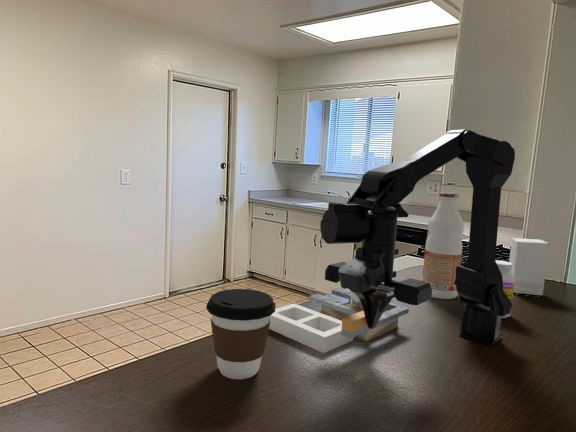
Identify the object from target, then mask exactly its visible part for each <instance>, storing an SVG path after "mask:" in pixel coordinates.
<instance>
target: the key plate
mask: <svg viewBox="0 0 576 432" xmlns="http://www.w3.org/2000/svg"><path fill="white" fill-rule="evenodd" d="M331 295H334V296H337V297H340V298H343V299H346V300H348V301H349V300H351V291H350V289H347V288H346V289H344V288H342V287H337V288H333V289H331ZM308 301H309V302H312V303H315V304H318V305H323V306H326V307H329V308H331V309H334V310H337V311H340V312H343V313H346V314H349V315H350V316H348V317H345V318H342V330H341V335H343V336H346V337H348V338H352V337H353V338H356V337H355V336H357V335H359V334H362V333H364V332H366V331H368V330H371V329H370V328H368V325H367V322H366V318H365V315H364V311H359V310H356V309H353V308H350V307H347V306H344V305H342V304H340V300H338V299H335V298H332V297H330V296H326V295H324V294H320V293H314V294H312V295H309V296H308ZM386 308H387V309H391V310H388V311H386V312H383V314H382V316H381V317H380V319H379V321H378V323H377V325H376V326H375V327H378V326H380V325H382V324H384V323H387V322H389V321H391V320H393V319H396V318H398V317H399V318H400V317H403V316H405V315H407V314H409V312H410V311H409V310H410V308H409V307H405V306H403V305H399V304H396V303H392V302H390V303H389V304H388V305H387V307H386ZM399 318H398V319H399Z"/></svg>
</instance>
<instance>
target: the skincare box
mask: <svg viewBox="0 0 576 432" xmlns="http://www.w3.org/2000/svg"><path fill="white" fill-rule="evenodd" d="M549 246H550V243H549V242H547V241H545V240H543V239H536V238H520V237H519V238H518V237H511V243H510V253H509V261H508V262H510V263H512V269H511V272H510V273H511V274H512V275H514V277H515V285H514V292H515V293H525V294H533V295H543V296H544V288H545V280H546V272H547V271H546V270H547V263H548V262H547V261H548V254H549V253H548V252H549Z"/></svg>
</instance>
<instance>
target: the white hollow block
mask: <svg viewBox="0 0 576 432" xmlns="http://www.w3.org/2000/svg"><path fill="white" fill-rule="evenodd" d="M319 312H320V311H319ZM319 312H318V311H316V310H313V309H310V308H308V307H305V306H302V305H299V304H297V303H291V304H287V305H284V306H281V307H277V308H275V312H274V313H273V314H272V315H271V316H270V326H269V330H270V331H273V332H276V333H278V334H280V335H282V336H284V337H287V338H289V339H291V340H292V341H293V340H294V341H295V342H298V343H300V344H302V345H305V346H306V347H308V348H310V349H313V350H315V351H318V352H320V353H322V354H325V353H328V352H330V351H332V350H334V349H337V348H339V347H341V346H344V345H346V344H349V343H350V342H352V341H354V337H352V338H348V337H346V336H343V335H341V330H342V321H341V320H338V319H335V318H333V317H330V316H327V315H324V314H322V313H319Z"/></svg>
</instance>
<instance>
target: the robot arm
mask: <svg viewBox="0 0 576 432" xmlns="http://www.w3.org/2000/svg"><path fill="white" fill-rule="evenodd" d="M454 159H458V160H460V161H462V162H464V163H465V172H466V176H467V177H468V179H469V182H470V183H471V185H472V199H471V211H470V212H471V214H470V225H469V239H468V252H467V258H466V259H465V261H464V262H463V263H462V265H461V266H457V267H456V278H455V282H454V285H456V290H457V292H458V293H457V295H458V298H459V299H458V300H459V303H461V304H464V305H465V307H464V309H465V310H463V311H462V314H461V321H460V322H461V323H460V332H459V336H460V337H464V338H467V339H469V340H473V341H475V342H479V343H483V344H485V345H489V346H493V345H495V344H496V343H497V342H498V341H500V340H501V339H502V338H503V335H502V334H501V324H502V318H501V317H502V316H505V315H506V314H509V313H510V310H511V311H512V307H513V301H512V302H511V301H510V299H509V298H508V296H507V295H506V293H505V292H504V290H503V277H502V274H501V272H500V270H499V267H498V265H497V263H496V261H495V260H496V255H497V242H498V241H497V240H498V231H499V229H498V228H499V220H500V219H499V218H500V206H501V195H502V189H503V187H504V185H505V184H506V182H507V181H508V180H509V178H510V177H511V175H512V172H513V169H514V163H515V159H516V152H515V147H512V145H511V143H510V142H508V141H506V140H499V139H495V138H492V137H489V136H485V135H481V134H479V133H477V132H476V131H473V130H470V129H467V128H466V129H465V128H464V129H451V130H449V131H447V132H446V133H444V135H442V136H441V137H439V138H438V139H435V140H434V141H432V142H431V143H428V144H427V145H426V146H424V147H422V148H420V149H418V150H417V151H416V152H414V153H413V154H410V155H409V156H407V157H406V158H404V159H403V160H400V161H397V162H393V163H389V164H386V165H381V166H378V167H376V168H372V169H370V170H368V171H366V172H365V173H364V174H363V175H362V177H361V181H360V183H359V186H358V187H357V188H356V190H355V191H354V193H353V194H352V196H351V197H350V198H349V200H348V201H347V202H346V203H339V202H333V201H331V202H328V205H327V209H326V210H325V212H324V213H323V215H322V218H321V220H320V225H319V226H320V227H319V230H320V234H321V237H322V240H323V241H324V242H325V243H326V244H330V245H332V244H333V245H335V244H339V245H340V244H360V243H361V246H357V247H356V250H355V256H354V258H353V259H350V260H348V261H347V262H345V261H340V262H336V263H330V264H328V265H327V266H326V268H325V270H324V280H325V281H329V282H332V283H336V284H337V283H339V282H340V288H343V289H346V290H350V291H351V292H354V293H355V294H356V295H357V296H358V297H359V299H360V302H361V304H362V307H363V311H364V315H365V318H366V322H367V325H368V328H370V329H373V328H375V326H376V325H377V323H378V321H379V319H380V317H381V316H382V314H383V312H384V310H385V309H386V307H387V305H388V304H389V303H391V301H392V300H393V299H394V298H395V300H396V301H397V302H400V303H404V304H407V305H410V306H419V305H421V304H424V303H426V302H428V301H430V300H432V298H433V297H432V288H431V286H430V284H429V283H428V282H424V281H422V280H420V279H415V278H411V277H410V278H406V279H403V280H400V281H399V280H396V279H393V278H396V277H397V273H398V272H397V271H395V270H394V262H395V256H396V255H399V248H397V247H396V241H397V240H396V238H397V227H398V218H408V217H409V213H408V212H407V211H406V209H404V207H402V204H401V203H402V202H403V200H404V199H405V198H407V197H408V196H409V195H410V194H411V193H413V191H414V189H415V187H416V185H417V184H418V182H419V181H420V180H423V179H424V178H425V177H427V176H429V175H430V174H431V173H433V172H435V171H437V170H439V169H440V168H441V167H443V166H446V164H448V163H449V162H452V161H453V160H454Z"/></svg>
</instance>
